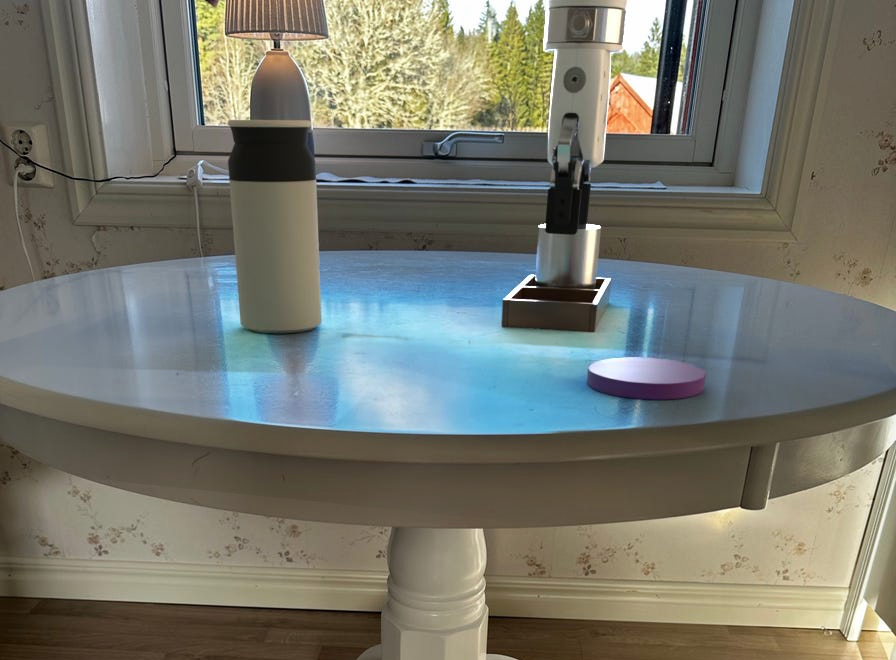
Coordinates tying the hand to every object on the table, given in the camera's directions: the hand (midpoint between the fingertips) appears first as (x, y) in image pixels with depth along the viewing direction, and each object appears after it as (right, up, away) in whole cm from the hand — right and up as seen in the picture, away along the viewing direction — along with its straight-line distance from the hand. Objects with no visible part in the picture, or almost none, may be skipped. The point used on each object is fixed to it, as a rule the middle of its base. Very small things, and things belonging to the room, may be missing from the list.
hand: (566, 228), depth 99 cm
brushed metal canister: (0, -7, +4) cm, 8 cm away
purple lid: (+2, -23, -24) cm, 33 cm away
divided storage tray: (-1, -9, 0) cm, 9 cm away
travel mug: (-29, -12, -4) cm, 32 cm away
